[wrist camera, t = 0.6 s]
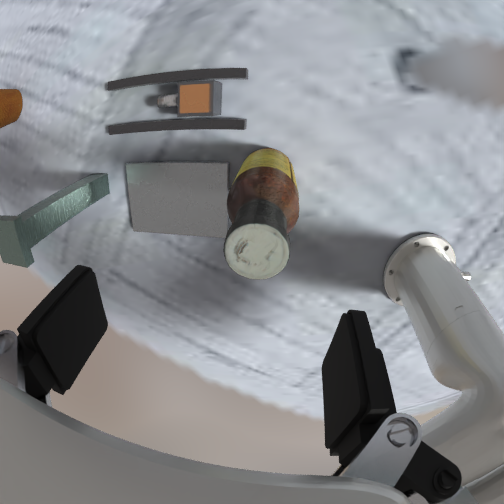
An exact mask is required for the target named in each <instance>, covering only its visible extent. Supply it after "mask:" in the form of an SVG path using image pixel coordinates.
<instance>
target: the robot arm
mask: <svg viewBox="0 0 504 504" xmlns="http://www.w3.org/2000/svg"><path fill="white" fill-rule="evenodd" d="M470 278H471V274H470V273H469V272H461V271H460V269H459V268H458V267H457V266H456V257H455V253H454V250H453V248H452V247H451V245H450V244H449V243H448V242H447V241H446V240H445V239H444V238H442V237H441V236H438V235H435V234H421V235H418V236H415V237H412V238H410V239H408V240H407V241H405V242H404V243H403V244H401V245H400V246H399V247H398V248H397V249H396V250H395V251H394V253H393V254H392V255H391V257H390V258H389V260H388V262H387V264H386V267H385V270H384V276H383V280H384V287H385V290H386V292H387V294H388V296H389V297H390V299H391V300H392V301H393V302H395V303H396V304H398V305H400V306H404V307H405V310H406V312H407V314H408V316H409V319H410V321H411V323H412V326H413V328H414V330H415V333H416V335H417V338H418V340H419V342H420V345H421V347H422V350H423V353H424V355H425V358H426V360H427V363H428V365H429V368H430V370H431V373H432V375H433V376H434V378H435V379H436V380H437V381H438V382H439V383H441V384H442V385H444V386H446V387H449V388H452V389H455V390H459V391H462V395H461V396H460V397H459V399H457V400H456V401H455V402H454V403H452V404H451V405H450V406H449V407H448V408H446V409H445V410H444V411H442V412H441V413H440V414H438V415H436V416H435V417H433V418H432V419H430V420H428V421H427V422H426V423H424V424H422V425H420V424H419V423H418V421H417V420H416V419H415V418H414V417H412V416H410V415H408V414H405V413H397V412H396V407H395V403H394V398H393V394H392V389H391V385H390V381H389V377H388V373H387V369H386V365H385V361H384V358H383V354H382V352H381V350H380V349H378V348H376V347H375V343H374V340H373V336H372V332H371V329H370V325H369V322H368V318H367V315H366V312H365V311H358V310H349V311H348V312H347V313H343V314H342V316H341V319H340V322H339V324H338V327H337V329H336V332H335V334H334V337H333V339H332V342H331V344H330V347H329V349H328V351H327V354H326V356H325V358H324V361H323V364H322V381H323V399H324V423H325V446H326V448H327V449H328V448H329V449H330V456H339V463H340V464H341V465H340V466H339V467H338V468H337V469H336V470H335V471H334V473H333V474H332V475H331V476H318V475H296V474H282V473H271V472H261V471H252V470H244V469H238V468H231V467H225V466H219V465H214V464H209V463H204V462H199V461H194V460H190V459H186V458H182V457H178V456H174V455H170V454H167V453H163V452H160V451H157V450H153V449H150V448H147V447H143V446H141V445H138V444H135V443H132V442H129V441H126V440H123V439H121V438H118V437H115V436H113V435H110V434H107V433H105V432H103V431H100V430H98V429H96V428H93V427H91V426H89V425H86V424H84V423H82V422H80V421H78V420H76V419H74V418H71V417H69V416H67V415H65V414H63V413H61V412H59V411H57V410H56V409H54V408H52V405H51V398H50V390H51V388H52V389H53V390H54V391H56V392H58V393H60V394H62V395H63V394H64V393H65V391H66V390H68V389H70V387H71V386H72V384H73V383H74V381H75V379H76V378H77V376H78V374H79V373H80V371H81V369H82V368H83V366H84V364H85V363H86V361H87V359H88V358H89V356H90V355H91V353H92V351H93V350H94V349H95V347H96V345H97V344H98V342H99V341H100V339H101V338H102V336H103V335H104V333H105V332H106V330H107V326H108V322H107V319H106V315H105V311H104V308H103V304H102V300H101V296H100V292H99V288H98V284H97V280H96V275H95V273H94V272H93V271H92V269H91V268H90V267H86V266H81V265H77V266H76V267H75V268H74V269H73V270H72V271H71V272H70V273H69V274H67V275H66V276H65V277H64V278H63V279H62V281H61V282H60V283H59V284H58V285H57V286H56V287H55V288H54V289H53V290H52V291H51V292H50V293H49V294H48V295H47V296H46V297H45V298H44V299H43V300H42V301H41V303H40V304H39V305H38V306H37V307H36V308H35V309H34V310H33V311H32V312H31V314H30V315H29V316H28V317H27V318H26V319H25V320H24V321H23V323H22V324H21V325H20V326H19V327H18V328H17V330H18V332H19V335H18V336H17V335H16V334H15V333H14V332H13V331H10V330H3V331H1V332H0V504H504V334H503V332H502V331H501V329H500V328H499V326H498V325H497V323H496V322H495V320H494V319H493V317H492V316H491V314H490V313H489V311H488V310H487V309H486V307H485V306H484V304H483V303H482V301H481V300H480V299H479V297H478V296H477V294H476V293H475V292H474V290H473V289H472V288H471V286H470V285H469V284H468V282H467V281H469V280H470Z"/></svg>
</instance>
